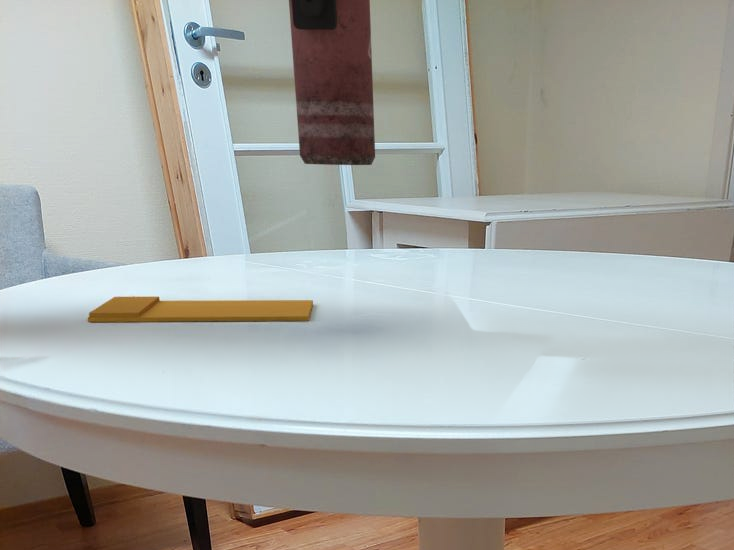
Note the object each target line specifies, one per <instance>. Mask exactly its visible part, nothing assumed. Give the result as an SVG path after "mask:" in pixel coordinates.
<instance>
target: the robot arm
mask: <svg viewBox="0 0 734 550" xmlns="http://www.w3.org/2000/svg"><path fill="white" fill-rule="evenodd" d="M292 13H293V24H294V26H295V27H296V28H297V29H300V30H334V29H335V28H336V27H337V8H336V0H292Z"/></svg>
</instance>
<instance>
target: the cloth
mask: <svg viewBox="0 0 734 550" xmlns="http://www.w3.org/2000/svg"><path fill="white" fill-rule="evenodd" d="M313 306H314V301H313V299H293V300H292V299H282V300H281V299H279V300H277V299H276V300H275V299H274V300H273V299H268V300H267V299H266V300H265V299H264V300H262V299H260V300H259V299H258V300H255V299H252V300H249V299H247V300H243V299H242V300H241V299H240V300H237V299H235V300H231V299H230V300H228V299H227V300H160V296H113V297H112V298H110V299H109V300H107V301H106V302H104V303H102V304H101V305H99V306H98V307H96V308H94V309H93V310H91V311H90V312H88V317H87V322H88V323H136V322H137V323H139V322H145V323H146V322H147V323H149V322H152V323H154V322H155V323H156V322H157V323H159V322H161V323H163V322H165V323H166V322H167V323H168V322H305V321H306V322H308V321H310V317H311V312H312V309H313Z"/></svg>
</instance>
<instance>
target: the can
mask: <svg viewBox="0 0 734 550" xmlns="http://www.w3.org/2000/svg"><path fill="white" fill-rule="evenodd" d="M288 8H289V9H288V10H289V20H290V21H289V22H290V23H289V24H290V36H291V37H290V38H291V46H292V47H291V49H292V50H291V51H292V63H293V64H292V65H293V77H294V92H295V106H296V107H295V108H296V119H297V133H298V135H297V136H298V147H299V157H300V158H301V160H302V161H303V164H304V165H323V166H325V165H327V166H329V165H330V166H332V165H333V166H372V165H373V163H374V160H375V159H376V140H375V112H374V111H375V110H374V86H373V83H374V82H373V80H374V79H373V53H372V29H371V25H372V23H371V1H370V0H336V8H337V27H336V28H335V29H334V30H300V29H297V28H296V27H295V26H294V24H293V13H292V0H288Z"/></svg>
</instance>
